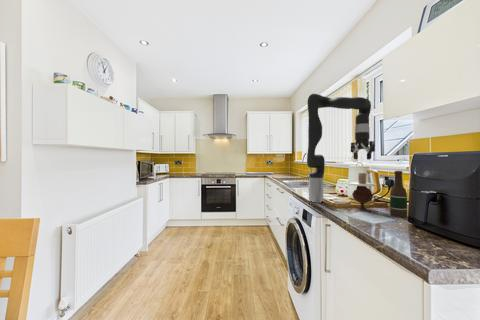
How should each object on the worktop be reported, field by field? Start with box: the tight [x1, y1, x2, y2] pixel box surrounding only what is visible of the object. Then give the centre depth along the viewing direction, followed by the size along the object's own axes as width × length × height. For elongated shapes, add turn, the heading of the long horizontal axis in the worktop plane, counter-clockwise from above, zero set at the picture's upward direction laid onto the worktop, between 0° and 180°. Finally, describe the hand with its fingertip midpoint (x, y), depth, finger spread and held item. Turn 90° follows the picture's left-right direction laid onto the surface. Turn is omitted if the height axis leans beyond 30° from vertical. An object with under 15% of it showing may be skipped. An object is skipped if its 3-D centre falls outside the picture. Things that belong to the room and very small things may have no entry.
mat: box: [342, 211, 396, 225], centre depth 112 cm, size 18×16×1 cm
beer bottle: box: [389, 170, 408, 219], centre depth 115 cm, size 8×8×24 cm
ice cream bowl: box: [352, 186, 374, 211], centre depth 130 cm, size 11×11×15 cm
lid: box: [348, 172, 377, 187], centre depth 130 cm, size 14×14×7 cm
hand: (362, 159), depth 130 cm, fingers open, 8 cm apart
